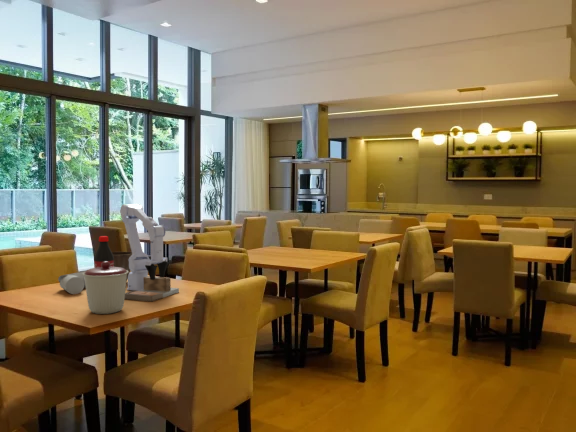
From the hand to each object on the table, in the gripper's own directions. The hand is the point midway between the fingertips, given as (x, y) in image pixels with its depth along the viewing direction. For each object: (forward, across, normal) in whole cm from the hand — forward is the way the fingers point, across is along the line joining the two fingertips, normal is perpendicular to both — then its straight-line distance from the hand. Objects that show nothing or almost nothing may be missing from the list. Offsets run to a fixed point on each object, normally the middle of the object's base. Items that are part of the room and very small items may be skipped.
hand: (157, 278), depth 254 cm
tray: (+8, -11, 0) cm, 14 cm away
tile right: (+7, -10, -4) cm, 13 cm away
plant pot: (+8, +18, +37) cm, 42 cm away
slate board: (+8, 0, 0) cm, 8 cm away
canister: (+8, -38, -2) cm, 39 cm away
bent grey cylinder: (+8, -6, +44) cm, 45 cm away
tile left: (+7, -10, +4) cm, 13 cm away
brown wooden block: (+6, 0, 0) cm, 6 cm away
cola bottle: (+8, -25, +10) cm, 28 cm away
